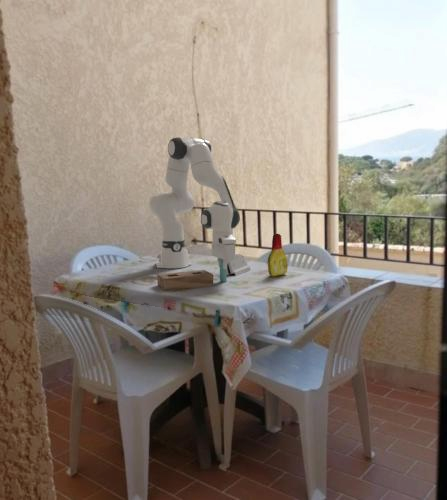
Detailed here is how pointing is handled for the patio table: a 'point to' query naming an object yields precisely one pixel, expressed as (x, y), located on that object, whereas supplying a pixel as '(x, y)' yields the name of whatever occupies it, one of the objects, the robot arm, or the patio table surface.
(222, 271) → the peg
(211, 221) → the robot arm
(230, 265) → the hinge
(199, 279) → the hole block
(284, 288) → the patio table surface
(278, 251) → the bottle
